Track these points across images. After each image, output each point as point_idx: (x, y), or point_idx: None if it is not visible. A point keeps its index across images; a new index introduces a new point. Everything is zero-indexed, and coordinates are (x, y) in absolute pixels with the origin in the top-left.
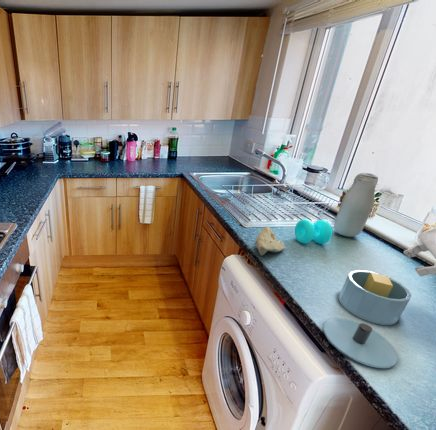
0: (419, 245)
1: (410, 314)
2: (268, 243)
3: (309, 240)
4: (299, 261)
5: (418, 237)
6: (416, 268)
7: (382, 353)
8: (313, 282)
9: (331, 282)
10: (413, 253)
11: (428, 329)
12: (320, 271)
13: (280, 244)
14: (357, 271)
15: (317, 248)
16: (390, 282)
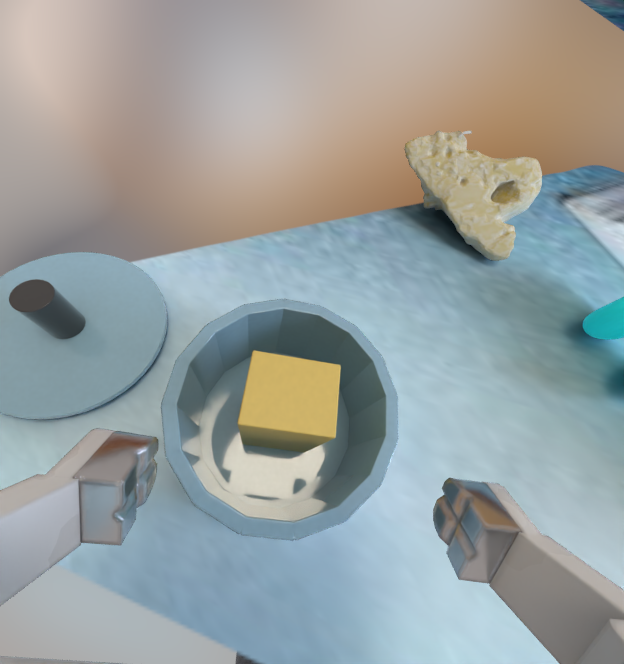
0: (621, 635)
1: (295, 585)
2: (446, 171)
3: (595, 325)
4: (457, 295)
5: None
6: (135, 436)
7: (12, 371)
8: (353, 303)
9: None
10: (474, 550)
11: (213, 626)
12: (432, 340)
13: (494, 232)
14: (367, 350)
15: (587, 371)
16: (269, 423)
